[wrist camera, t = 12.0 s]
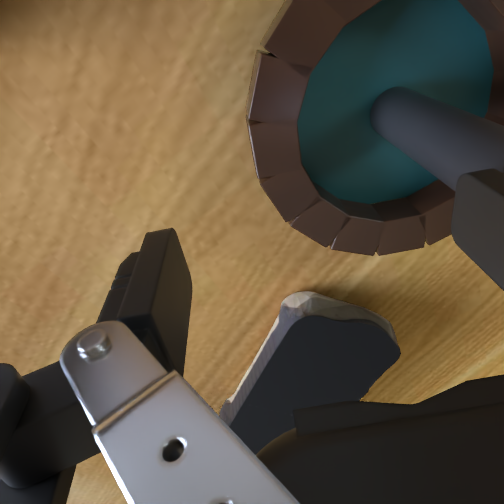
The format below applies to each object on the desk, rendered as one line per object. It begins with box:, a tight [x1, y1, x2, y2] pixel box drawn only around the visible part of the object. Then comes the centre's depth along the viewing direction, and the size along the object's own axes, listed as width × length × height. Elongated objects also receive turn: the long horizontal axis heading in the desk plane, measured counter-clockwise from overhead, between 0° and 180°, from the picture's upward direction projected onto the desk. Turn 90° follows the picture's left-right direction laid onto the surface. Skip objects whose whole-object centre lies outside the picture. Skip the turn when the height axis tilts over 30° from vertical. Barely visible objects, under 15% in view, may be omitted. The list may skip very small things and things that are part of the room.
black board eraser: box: [219, 291, 401, 455], centre depth 28 cm, size 16×8×4 cm, turn 158°
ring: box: [246, 0, 504, 256], centre depth 18 cm, size 14×14×2 cm
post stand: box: [297, 0, 504, 204], centre depth 15 cm, size 10×10×11 cm
